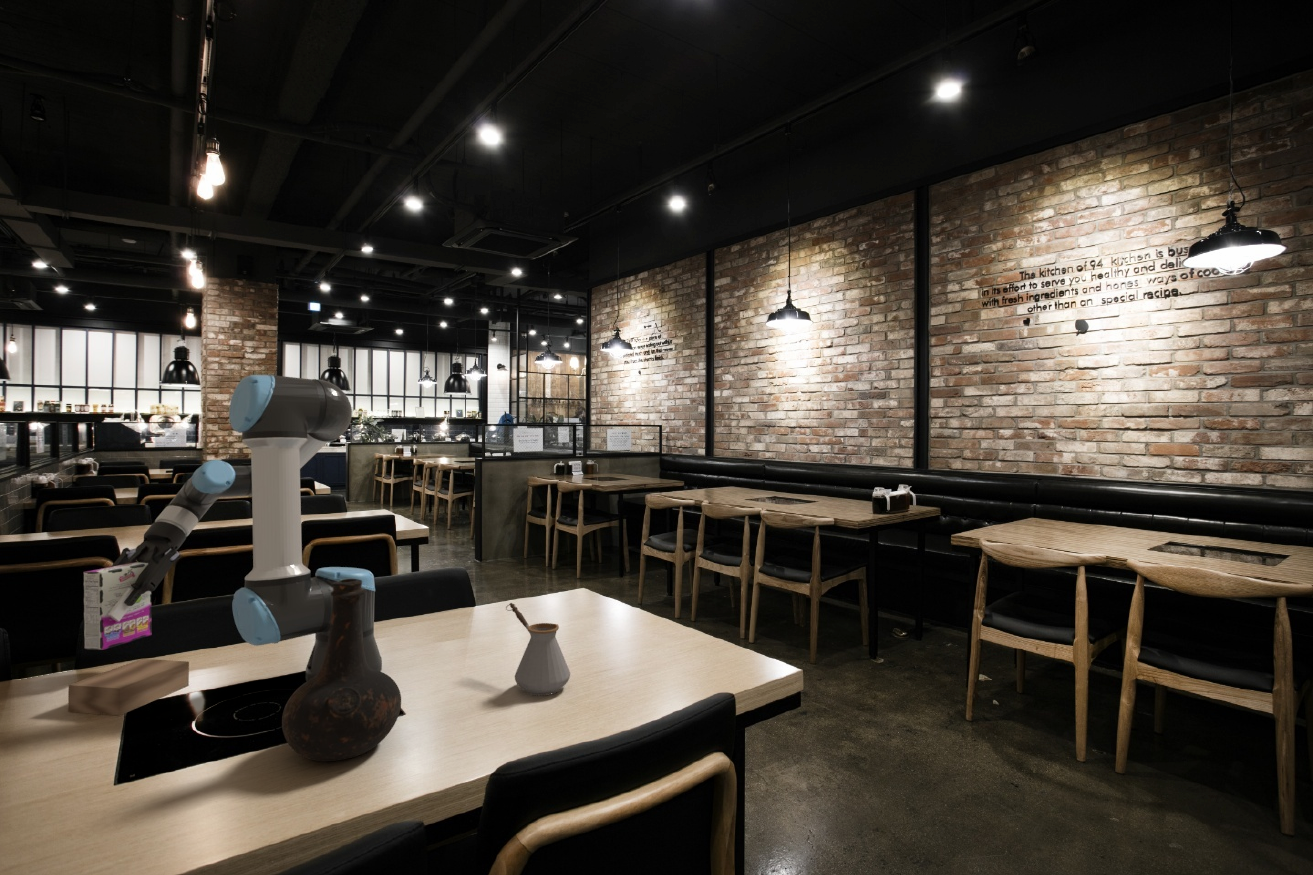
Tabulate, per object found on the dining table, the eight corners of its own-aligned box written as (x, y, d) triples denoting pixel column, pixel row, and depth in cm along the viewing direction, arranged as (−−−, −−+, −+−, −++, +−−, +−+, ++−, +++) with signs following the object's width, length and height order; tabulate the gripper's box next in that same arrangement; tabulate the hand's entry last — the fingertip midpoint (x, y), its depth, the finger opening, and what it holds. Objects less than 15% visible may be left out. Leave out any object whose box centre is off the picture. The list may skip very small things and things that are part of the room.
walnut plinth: (188, 685, 135) (188, 661, 135) (119, 715, 120) (120, 688, 120) (142, 682, 136) (142, 658, 136) (68, 711, 121) (68, 684, 121)
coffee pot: (580, 690, 134) (581, 618, 134) (530, 704, 127) (531, 627, 127) (531, 662, 150) (532, 598, 151) (485, 673, 143) (486, 605, 143)
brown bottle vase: (274, 785, 96) (276, 597, 96) (288, 735, 112) (291, 574, 113) (402, 763, 103) (405, 587, 103) (399, 718, 119) (400, 567, 120)
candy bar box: (133, 634, 146) (134, 561, 146) (152, 635, 145) (153, 562, 145) (81, 649, 135) (82, 570, 135) (100, 650, 134) (101, 571, 134)
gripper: (213, 540, 154) (150, 628, 138) (147, 538, 157) (76, 625, 140) (195, 520, 149) (127, 609, 133) (126, 519, 152) (51, 606, 135)
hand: (101, 617), depth 137 cm, fingers closed on candy bar box, 5 cm apart
